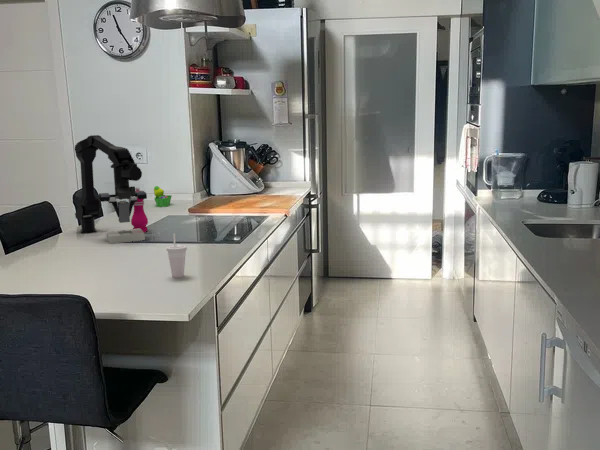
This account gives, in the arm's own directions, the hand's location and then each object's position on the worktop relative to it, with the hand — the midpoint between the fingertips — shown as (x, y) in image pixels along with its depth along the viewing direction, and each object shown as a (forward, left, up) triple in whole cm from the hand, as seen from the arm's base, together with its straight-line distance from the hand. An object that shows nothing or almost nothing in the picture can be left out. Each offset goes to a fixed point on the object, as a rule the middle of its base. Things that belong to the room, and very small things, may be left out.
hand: (123, 216), depth 248 cm
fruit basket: (-86, +31, -10) cm, 92 cm away
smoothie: (+67, +8, -10) cm, 68 cm away
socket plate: (0, 0, -10) cm, 10 cm away
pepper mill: (-14, +8, -10) cm, 19 cm away
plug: (0, 0, -2) cm, 2 cm away
